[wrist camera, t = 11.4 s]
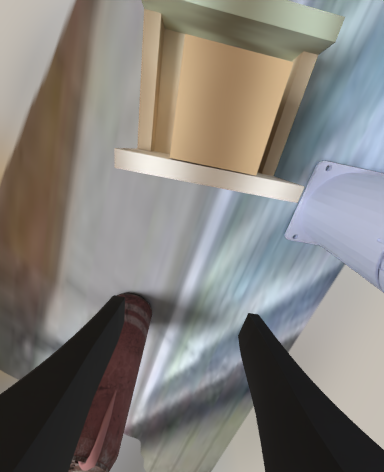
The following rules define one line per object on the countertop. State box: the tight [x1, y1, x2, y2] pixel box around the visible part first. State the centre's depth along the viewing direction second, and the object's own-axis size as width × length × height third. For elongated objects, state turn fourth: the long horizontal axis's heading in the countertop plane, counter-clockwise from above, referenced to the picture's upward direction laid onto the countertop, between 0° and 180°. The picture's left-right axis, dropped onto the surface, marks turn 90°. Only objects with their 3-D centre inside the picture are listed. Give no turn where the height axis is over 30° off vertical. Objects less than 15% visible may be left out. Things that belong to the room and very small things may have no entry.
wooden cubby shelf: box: [115, 0, 345, 203], centre depth 12 cm, size 11×10×7 cm
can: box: [68, 293, 152, 472], centre depth 18 cm, size 6×6×14 cm
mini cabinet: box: [170, 34, 294, 176], centre depth 12 cm, size 5×6×6 cm
